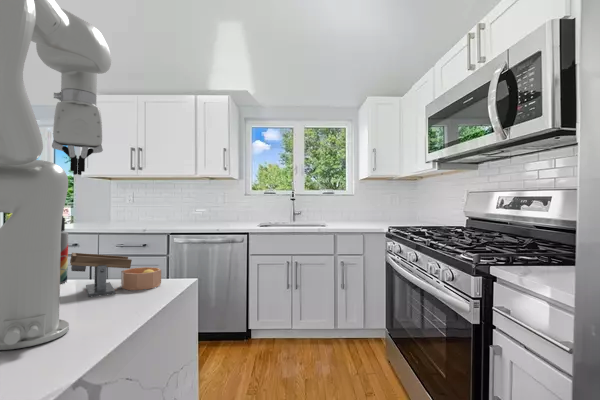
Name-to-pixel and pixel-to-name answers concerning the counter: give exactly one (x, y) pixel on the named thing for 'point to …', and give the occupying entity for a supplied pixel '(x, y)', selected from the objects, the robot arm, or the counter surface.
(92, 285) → the chute stand
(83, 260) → the tilt chute
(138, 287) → the terracotta bowl
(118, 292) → the counter surface
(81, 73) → the robot arm
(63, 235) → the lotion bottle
